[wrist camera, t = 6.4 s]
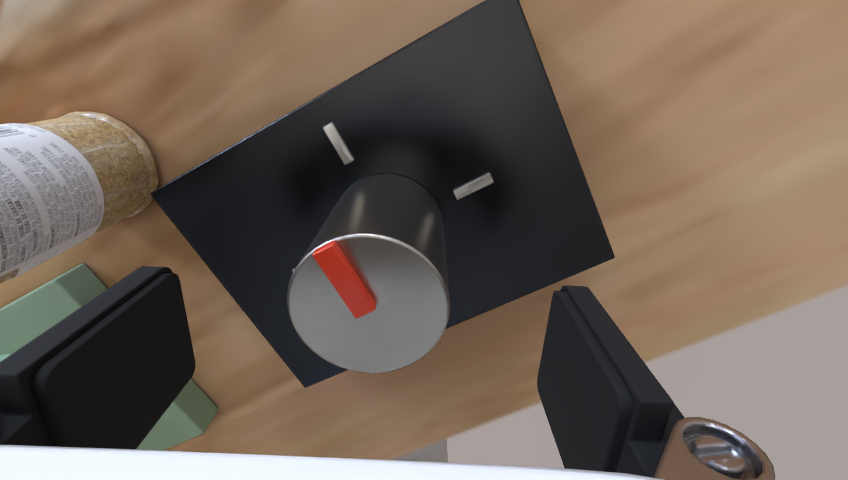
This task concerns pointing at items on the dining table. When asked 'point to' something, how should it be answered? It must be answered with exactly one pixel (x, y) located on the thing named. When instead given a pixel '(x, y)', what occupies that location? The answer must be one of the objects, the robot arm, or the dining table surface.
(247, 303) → the panel
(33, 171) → the sprinkles bottle
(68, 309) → the button box
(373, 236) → the dial
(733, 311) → the dining table surface
